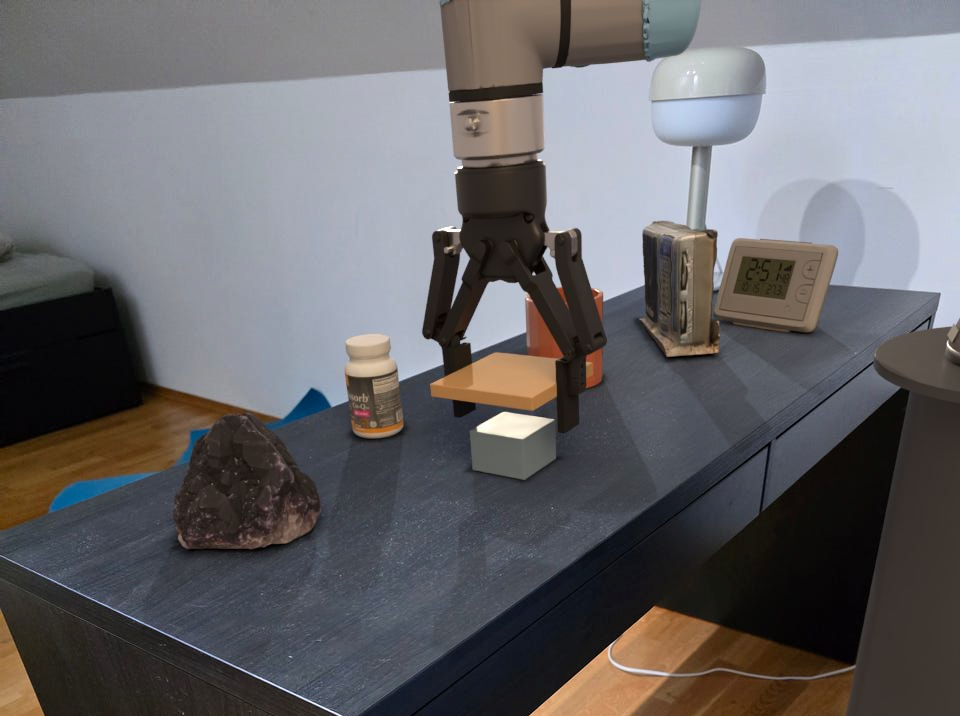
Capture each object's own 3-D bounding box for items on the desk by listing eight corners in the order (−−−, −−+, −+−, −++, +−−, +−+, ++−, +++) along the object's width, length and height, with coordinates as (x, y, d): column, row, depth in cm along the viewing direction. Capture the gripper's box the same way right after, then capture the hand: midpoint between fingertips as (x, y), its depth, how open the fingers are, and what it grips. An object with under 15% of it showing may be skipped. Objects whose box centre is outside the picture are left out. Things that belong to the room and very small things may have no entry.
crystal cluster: (255, 580, 71) (243, 462, 66) (134, 539, 76) (115, 427, 71) (353, 525, 81) (350, 418, 76) (241, 492, 86) (231, 391, 81)
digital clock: (706, 320, 128) (711, 241, 122) (751, 309, 131) (758, 232, 126) (792, 340, 116) (803, 254, 110) (839, 328, 119) (852, 243, 114)
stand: (556, 458, 87) (555, 419, 85) (524, 480, 83) (522, 439, 81) (505, 449, 90) (503, 411, 88) (472, 470, 86) (469, 430, 84)
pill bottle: (342, 433, 97) (328, 342, 92) (382, 419, 100) (371, 329, 95) (375, 444, 94) (361, 349, 88) (415, 428, 97) (405, 336, 92)
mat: (593, 374, 83) (593, 362, 82) (532, 411, 76) (532, 397, 75) (496, 363, 89) (495, 351, 88) (431, 396, 81) (429, 383, 80)
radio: (638, 318, 132) (641, 208, 124) (697, 315, 131) (704, 204, 123) (650, 362, 112) (654, 235, 104) (719, 359, 111) (729, 230, 103)
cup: (614, 373, 109) (616, 288, 104) (579, 395, 103) (579, 306, 98) (552, 366, 114) (550, 284, 108) (515, 386, 108) (511, 300, 102)
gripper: (361, 169, 75) (395, 418, 87) (606, 161, 64) (606, 451, 75) (415, 158, 80) (440, 395, 92) (651, 150, 69) (644, 423, 80)
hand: (515, 420), depth 84 cm, fingers closed on mat, 11 cm apart
